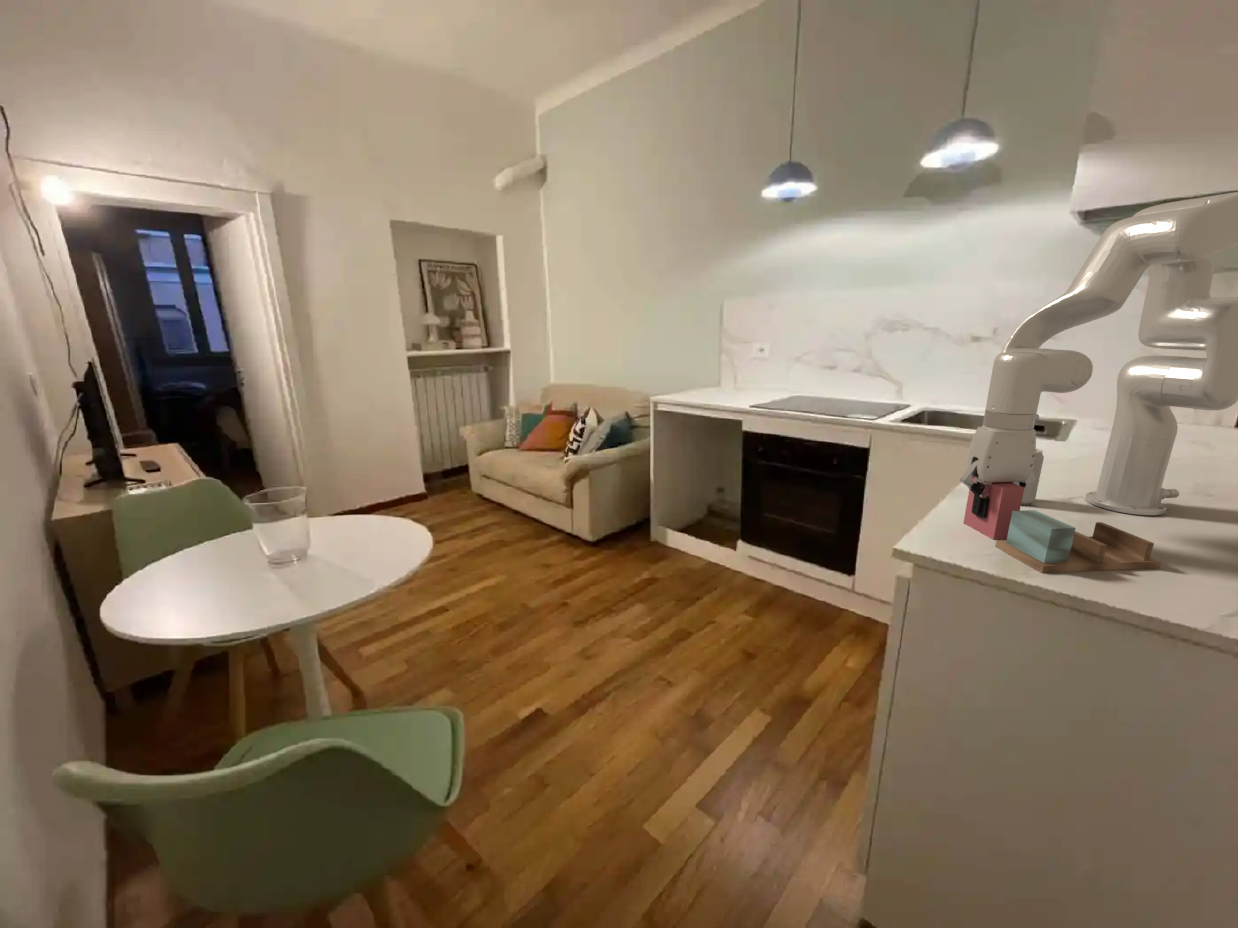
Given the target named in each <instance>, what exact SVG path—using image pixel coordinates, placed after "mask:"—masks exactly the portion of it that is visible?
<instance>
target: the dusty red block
mask: <svg viewBox="0 0 1238 928" xmlns="http://www.w3.org/2000/svg"><path fill="white" fill-rule="evenodd" d="M975 480H976V477H974V478H973V481H974V482H975ZM982 487H983V484H982V486H981V488H982ZM968 489H969V488H968ZM1023 493H1024V487H1022V486H1019V485H1017V484H1014V483H1011V482H1005V483H992V486H991V488H990V491H989V494H988V496H987V498H989V499H990V501H989V506H988V512H987V517H986V518H980V517H978V516H977V515H975V514H973V513H972V505H973V499H974V494H972V492H971V490H970V489H969V490H968V496H967V501H966V502H967V503H966V507H965V513H964V518H963V524H965V525H966V526H968V527H970V528H972V529H973V530H975V531H977V532H979V533H980V534H982V535H984V536H986V537H988V538H990V539H991V540H1007V536H1008V531H1009V526H1010V521H1011V516H1012V511H1021V507H1022V505H1021V503H1022V498H1023Z"/></svg>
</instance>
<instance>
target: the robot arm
mask: <svg viewBox="0 0 1238 928" xmlns="http://www.w3.org/2000/svg"><path fill="white" fill-rule="evenodd" d="M1236 246H1238V191H1237V192H1236V191H1235V192H1228V193H1222V194H1216V195H1210V196H1203V197H1198V198H1189V199H1183V200H1178V201H1177V200H1176V201H1172V202H1166V203H1161V204H1156V205H1152V206H1149V207H1146V208H1144V209H1141V210H1140V211H1138V212H1136V213H1135V214H1134V215H1132V216H1130V217H1126V218H1124V219H1121V220H1118V221H1116V222H1114V223H1112V224H1110V225H1109V227H1106V229H1105V231H1104V232H1103V233H1102V234H1101V235H1100V237H1099V238H1098V241H1097V242H1096V243H1095V245H1094V247H1093V248H1092V250H1091V252H1090V253H1089V255H1088V257H1087V258H1086V260H1085V261H1084V263H1083V265H1082V266H1081V267H1080V269H1079V271H1078V273H1077V275H1076V276H1075V277H1074V278H1073V280H1072V282H1071V284H1070V286H1068V288H1067V290H1066V291H1065V292H1064V293H1063V294H1061V295H1060V296H1059V297H1057V298H1055V299H1053V300H1052V301H1050V302H1049V303H1047V304H1045V305H1043V307H1041V308H1040V309H1038V310H1037V311H1036V312H1034V313H1032V314H1031V315H1030V316H1029V317H1027V318H1026V319H1025V320H1023V322H1021V323H1020V324H1019V325H1018V326H1017V327H1016V329H1015V330H1014V331H1013V332H1012V333H1011V335H1010V336H1009V338H1008V340H1007V342H1006V343H1005V344H1004V346H1003V348H1002V350H1001V351H1000V353H998V354H997V355H996V357H995V358H994V361H993V365H992V371H991V374H990V375H991V376H990V382H989V387H988V394H987V397H986V399H987V400H986V404H985V411H984V416H983V422H982V426H978V427H977V428H976V431H975V432H974V434H973V436H972V437H973V438H972V440H971V442H970V446H969V448H968V452H967V456H966V460H965V464H964V473H963V474H962V475H961V477H960V478H959V482H960V483H962V484H963V485H964V486H966V487H967V489H970V490H971V492H972V494H974V499H973V505H972V513H973V514H975V515H977V516H978V517H980V518H986V517H987V512H988V506H989V501H990V499H989V498H987V496H988V494H989V491H990V488H991V486H992V483H1005V482H1011V483H1014V484H1017V485H1019V486H1022V487H1024V488H1025V487H1026V485H1029V484H1030V483H1032V482H1034V481H1035V479H1036V478H1035V476H1034V474H1033V472H1032V470H1033V465H1034V459H1035V450H1036V448H1037V431H1036V429H1034V428H1035V423H1036V422H1038V421H1039V420H1040V415H1039V414H1038V413H1037V412H1038V408H1039V403H1040V397H1041V394H1042V393H1043V392H1045V393H1046V392H1047V393H1056V394H1066V393H1072V392H1075V391H1077V390H1080V389H1081V388H1083V387H1084V386H1085V385H1086V384H1087V383H1088V382H1089V381H1090V379H1091V378H1092V374H1093V371H1094V366H1093V362H1092V360H1091V359H1090V358H1089V357H1088V356H1087V355H1086V354H1085V353H1084V352H1083V353H1082V352H1079V351H1076V350H1069V349H1054V348H1053V349H1052V348H1041V346H1042V345H1043V344H1044V343H1046V342H1047V341H1048V340H1049V339H1051V338H1053V337H1055V336H1057V335H1058V334H1060V333H1062V332H1065V331H1067V330H1069V329H1072V328H1074V327H1077V326H1081V325H1084V324H1088V323H1091V322H1093V321H1096V320H1100V319H1102V318H1104V317H1107V316H1110V315H1112V314H1114V313H1116V312H1117V311H1119V310H1120V309H1121V308H1123V306H1124V305H1125V302H1126V301H1127V299H1128V298H1129V297H1130V295H1131V294H1132V292H1133V290H1134V288H1135V287H1136V285H1137V284H1138V282H1139V281H1140V280H1141V278H1142V276H1143V274H1144V273H1145V271H1146V270H1147V275H1148V279H1147V280H1148V281H1147V287H1146V293H1145V297H1144V302H1143V305H1142V306H1143V307H1142V311H1141V317H1140V321H1139V327H1138V340H1139V343H1140V344H1142V345H1143V346H1145V347H1148V348H1152V349H1153V348H1154V349H1163V350H1164V349H1165V350H1181V351H1182V350H1183V351H1186V350H1187V351H1204V352H1205V353H1206V357H1192V356H1190V357H1189V356H1179V355H1176V356H1175V355H1143V356H1139V357H1135V358H1133V359H1131V360H1129V361H1128V362H1126V364H1124V365H1123V366H1121V367H1122V368H1121V369H1120V370H1119V371H1118V376H1117V381H1116V394H1117V395H1116V408H1115V412H1114V419H1113V423H1112V428H1111V432H1110V436H1109V439H1108V444H1107V448H1106V451H1105V456H1104V460H1103V464H1102V468H1101V472H1100V476H1099V481H1098V483H1097V487H1096V491H1089V492H1087V493H1086V494H1085V498H1084V499H1085V500H1086V502H1088V503H1089V504H1091V505H1093V506H1096V507H1099V508H1103V509H1105V510H1108V511H1113V512H1117V513H1122V514H1130V515H1135V516H1136V515H1137V516H1161V515H1164V514H1166V511H1167V506H1166V505H1165V503H1162V500H1164V499H1175V498H1178V497H1180V496H1179V495H1180V493H1179V490H1178V489H1176V488H1164V487H1162V486H1163V483H1164V481H1165V476H1166V473H1167V469H1168V466H1169V462H1170V459H1171V455H1172V451H1173V448H1174V445H1175V441H1176V437H1177V434H1178V422H1177V419H1176V417H1175V415H1174V413H1173V411H1172V410H1171V407H1174V408H1175V407H1176V408H1185V409H1194V410H1202V411H1220V410H1225V409H1229V408H1230V407H1232V406H1233V405H1235V404H1236V403H1237V402H1238V296H1222V297H1221V296H1219V297H1216V296H1215V297H1211V294H1210V293H1211V289H1212V288H1211V287H1212V284H1213V278H1214V273H1215V268H1214V267H1215V266H1214V264H1213V261H1212V259H1211V258H1210V257H1211V256H1212V255H1215V254H1218V253H1221V252H1223V251H1226V250H1228V249H1231V248H1234V247H1236ZM974 477H976V480H975V482H974V481H973V478H974ZM982 484H983V487H982V488H981V486H982Z"/></svg>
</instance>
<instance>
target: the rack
mask: <svg viewBox="0 0 1238 928" xmlns="http://www.w3.org/2000/svg"><path fill="white" fill-rule="evenodd" d="M1076 529H1077V528H1076V527H1075V526H1072V525H1070V524H1067V523H1065V522H1063V521H1061V520H1059V519H1055V518H1054V517H1051V516H1050V515H1047V514H1044V513H1042V512H1040V511H1037V510H1035V509H1030V510H1029V509H1028V510H1020V511H1012V516H1011V521H1010V526H1009V531H1008V536H1007V539H995V540H996V541H995V548H997V549H999V550H1000V551H1002V552H1004V553H1006V554H1008V556H1009V555H1010V556H1011V557H1013V558H1014V559H1017V560H1018V561H1020V562H1022V563H1023V564H1025V565H1027V566H1029V567H1030V568H1033V569H1034V570H1036V571H1038V572H1039V573H1041V574H1045V573H1046V574H1047V573H1048V574H1049V573H1069V572H1070V573H1071V572H1073V573H1074V572H1091V571H1092V572H1093V571H1095V572H1097V571H1117V570H1119V571H1120V570H1140V569H1141V570H1142V569H1159V568H1160V566H1161V563H1162V561H1161V560H1160V559H1157V558H1154V557H1152V552H1153V548H1154V545H1155V542H1153V541H1150V540H1147V539H1145V538H1142V537H1139V536H1137V535H1134V534H1132V533H1129V532H1127V531H1124V530H1122V529H1119V528H1117V527H1114V526H1112V525H1109V524H1107V523H1104V522H1102V521H1098V522H1095V525H1094V528H1093V529H1094V530H1093V533H1092V536H1087V535H1084V534H1083V533H1081V532H1078V531H1076Z"/></svg>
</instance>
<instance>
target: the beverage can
mask: <svg viewBox="0 0 1238 928" xmlns="http://www.w3.org/2000/svg"><path fill="white" fill-rule="evenodd" d="M1043 452H1044V451H1043V450H1042V449H1040V448H1037V447H1036V450H1035V459H1034V465H1033V470H1032V472H1033V474H1034V476H1035V478H1036V479H1035V481H1034V482H1032V483H1030V484H1029V485H1026V487H1025V488H1024V493H1023V498H1022V503H1021V506H1026V505H1027V506H1028V505H1030V504H1032V503H1034V502H1036V496H1037V492H1038V487H1039V483H1040V478H1041V473H1042V470H1043V469H1042V467H1043V464H1044V459H1045V457H1044V456H1045V455H1044V454H1043Z"/></svg>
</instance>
